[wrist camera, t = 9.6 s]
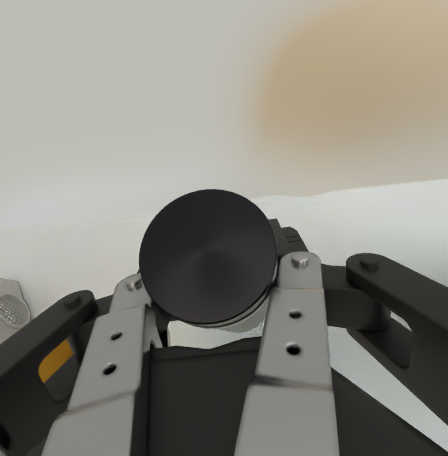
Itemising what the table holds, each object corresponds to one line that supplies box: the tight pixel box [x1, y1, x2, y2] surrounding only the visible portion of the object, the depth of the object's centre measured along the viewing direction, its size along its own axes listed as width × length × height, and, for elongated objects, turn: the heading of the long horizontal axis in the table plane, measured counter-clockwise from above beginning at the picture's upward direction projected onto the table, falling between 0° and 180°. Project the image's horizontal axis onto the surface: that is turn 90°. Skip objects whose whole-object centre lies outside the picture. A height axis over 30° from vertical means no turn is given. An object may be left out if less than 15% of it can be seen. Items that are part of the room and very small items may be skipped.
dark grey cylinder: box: [139, 189, 278, 333], centre depth 12 cm, size 4×4×10 cm
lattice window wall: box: [0, 278, 31, 344], centre depth 29 cm, size 12×2×6 cm, turn 33°
